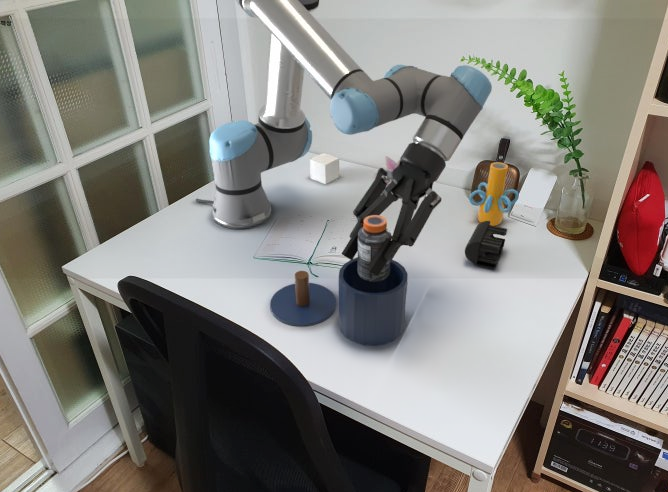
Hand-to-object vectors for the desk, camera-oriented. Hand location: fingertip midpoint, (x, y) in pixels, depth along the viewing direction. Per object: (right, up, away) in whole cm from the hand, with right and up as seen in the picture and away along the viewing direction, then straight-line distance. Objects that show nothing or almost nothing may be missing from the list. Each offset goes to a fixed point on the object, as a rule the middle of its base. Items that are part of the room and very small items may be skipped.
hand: (359, 264), depth 99 cm
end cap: (+31, +2, +30) cm, 43 cm away
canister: (+3, -12, +12) cm, 17 cm away
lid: (-11, -8, +16) cm, 21 cm away
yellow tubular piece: (+36, +12, +43) cm, 58 cm away
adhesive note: (-6, +27, +65) cm, 70 cm away
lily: (+14, +22, +57) cm, 63 cm away
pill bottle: (+3, -2, +4) cm, 5 cm away
